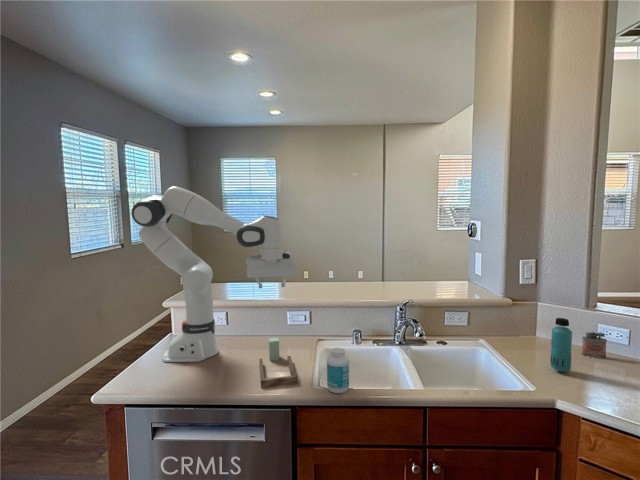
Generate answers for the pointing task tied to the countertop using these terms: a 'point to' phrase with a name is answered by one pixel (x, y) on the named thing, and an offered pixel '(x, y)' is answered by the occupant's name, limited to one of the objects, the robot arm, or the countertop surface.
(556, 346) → the beverage bottle
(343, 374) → the pill bottle
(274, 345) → the sage block
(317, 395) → the countertop surface
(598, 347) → the lighter
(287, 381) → the walnut lane
